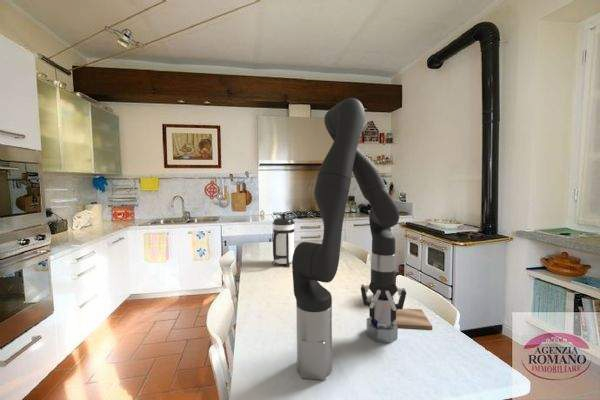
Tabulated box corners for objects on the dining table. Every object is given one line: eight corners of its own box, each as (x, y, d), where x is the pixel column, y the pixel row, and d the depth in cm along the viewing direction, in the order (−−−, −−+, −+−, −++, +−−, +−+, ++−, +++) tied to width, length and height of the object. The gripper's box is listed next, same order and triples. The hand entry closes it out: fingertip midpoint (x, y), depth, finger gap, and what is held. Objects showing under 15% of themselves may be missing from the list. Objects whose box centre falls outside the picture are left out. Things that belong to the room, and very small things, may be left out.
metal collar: (399, 343, 84) (399, 330, 83) (368, 341, 85) (368, 329, 85) (393, 327, 93) (393, 316, 92) (365, 326, 94) (365, 314, 94)
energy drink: (379, 328, 92) (379, 292, 91) (394, 334, 88) (394, 297, 87) (370, 334, 88) (370, 297, 88) (385, 341, 85) (386, 303, 84)
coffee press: (267, 261, 169) (266, 212, 167) (292, 259, 174) (292, 211, 171) (273, 270, 152) (272, 216, 150) (301, 267, 157) (300, 214, 155)
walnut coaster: (432, 329, 91) (432, 326, 91) (394, 327, 93) (394, 324, 93) (421, 312, 103) (421, 309, 103) (388, 310, 105) (388, 307, 105)
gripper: (359, 269, 85) (358, 322, 86) (409, 272, 81) (408, 328, 83) (360, 262, 92) (360, 311, 93) (406, 265, 89) (405, 316, 90)
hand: (382, 319), depth 88 cm, fingers closed on energy drink, 5 cm apart
